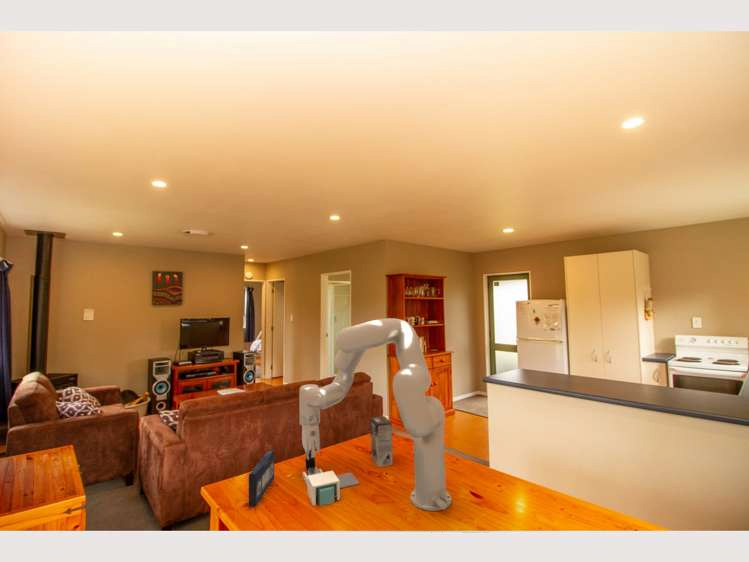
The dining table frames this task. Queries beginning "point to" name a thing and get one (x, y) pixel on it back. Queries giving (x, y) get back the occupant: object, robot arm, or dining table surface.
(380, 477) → the dining table surface
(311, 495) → the white box
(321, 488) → the block
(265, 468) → the vhs cassette tape
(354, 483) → the mat
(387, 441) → the coffee box
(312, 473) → the rod
